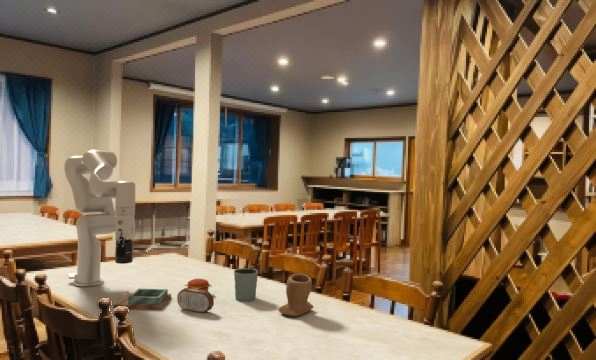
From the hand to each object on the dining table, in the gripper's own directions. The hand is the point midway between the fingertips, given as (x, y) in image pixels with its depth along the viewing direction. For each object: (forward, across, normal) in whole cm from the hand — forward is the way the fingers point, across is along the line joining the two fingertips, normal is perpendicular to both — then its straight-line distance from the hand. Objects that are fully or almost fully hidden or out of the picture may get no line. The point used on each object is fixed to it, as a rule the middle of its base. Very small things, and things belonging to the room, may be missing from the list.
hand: (124, 254), depth 176 cm
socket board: (+19, -4, -9) cm, 21 cm away
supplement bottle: (+3, 0, 0) cm, 3 cm away
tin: (+19, -12, -32) cm, 39 cm away
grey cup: (+19, +6, -49) cm, 53 cm away
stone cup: (+20, -10, -71) cm, 75 cm away
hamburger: (+19, +10, -28) cm, 35 cm away
